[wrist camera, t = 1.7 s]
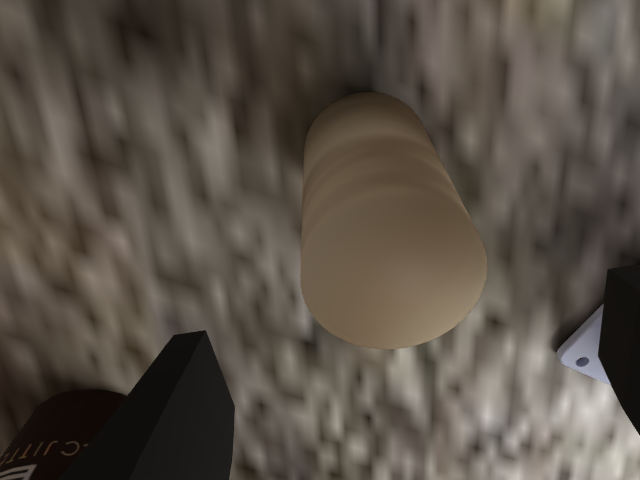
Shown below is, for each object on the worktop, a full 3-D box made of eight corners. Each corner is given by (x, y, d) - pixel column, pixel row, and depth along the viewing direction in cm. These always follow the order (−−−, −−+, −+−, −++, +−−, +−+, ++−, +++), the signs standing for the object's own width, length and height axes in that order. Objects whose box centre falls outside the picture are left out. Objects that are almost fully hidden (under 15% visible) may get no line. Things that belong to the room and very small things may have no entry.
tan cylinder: (451, 128, 17) (526, 245, 11) (386, 225, 19) (420, 370, 13) (341, 68, 16) (359, 163, 10) (283, 177, 18) (269, 311, 12)
